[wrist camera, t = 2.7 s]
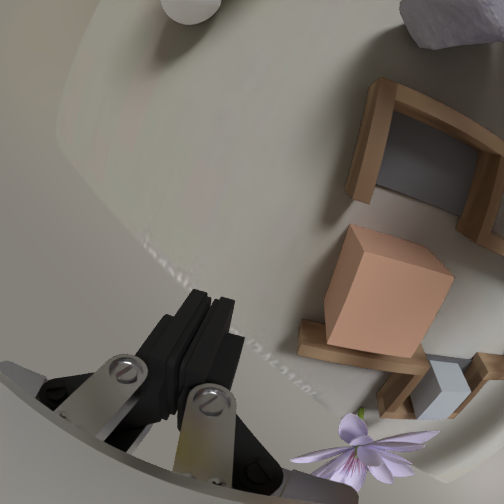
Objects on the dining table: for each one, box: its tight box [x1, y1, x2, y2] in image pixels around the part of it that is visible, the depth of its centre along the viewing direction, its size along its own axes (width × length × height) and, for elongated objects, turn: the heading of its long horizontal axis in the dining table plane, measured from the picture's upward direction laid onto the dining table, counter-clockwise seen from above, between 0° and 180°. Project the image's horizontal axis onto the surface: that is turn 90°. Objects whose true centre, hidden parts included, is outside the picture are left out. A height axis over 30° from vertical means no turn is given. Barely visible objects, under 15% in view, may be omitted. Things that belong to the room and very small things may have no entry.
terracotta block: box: [324, 224, 455, 358], centre depth 16 cm, size 6×6×5 cm
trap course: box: [297, 77, 504, 419], centre depth 16 cm, size 25×24×3 cm
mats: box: [376, 110, 479, 374], centre depth 18 cm, size 18×22×1 cm
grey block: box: [410, 360, 471, 420], centre depth 19 cm, size 4×4×4 cm
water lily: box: [289, 408, 440, 492], centre depth 20 cm, size 15×15×9 cm
